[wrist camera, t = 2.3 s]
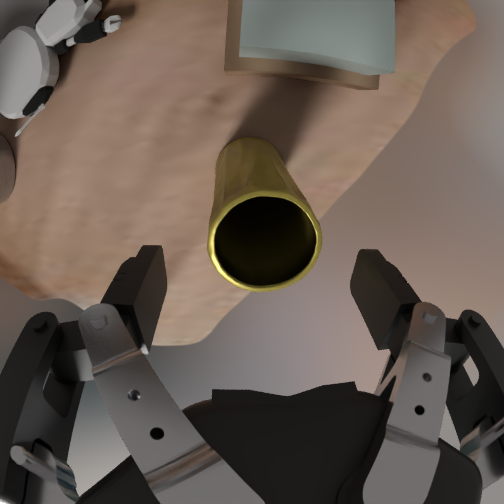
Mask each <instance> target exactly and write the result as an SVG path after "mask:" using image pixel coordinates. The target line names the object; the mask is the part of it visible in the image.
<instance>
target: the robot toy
mask: <svg viewBox="0 0 504 504" xmlns="http://www.w3.org/2000/svg"><path fill="white" fill-rule="evenodd" d="M101 9H102V2H101V1H100V0H49V7H48V9H47V10H46V12H45V13H43V14H40V16H39V17H38V19H37V21H36V22H35V23H36V29H34V28H31V27H28V26H19V27H17V28H16V29H14V30H12V31H10V33H8V34H7V35H6V36H5V37H4V38H3V39H2V40H1V41H0V113H1V114H3V115H4V116H5V117H7V118H11V119H17V118H23V117H26V116H31V117H30V118H29V119H28V121H27V122H26V123H25V124H24V125H23V126H22V127H21V128H20V129H19V130H18V131H17V132H16V135H15V137H16V136H18V135H19V134H20V133H21V132H22V130H23V129H24V128H25V127H26V125H27V124H28V123H29V122H30V121H31V120H32V119H33V118H34V117H35V116H36V115H37V114H38V113H39V111H42V110H43V109H44V108H45V107H46V106H45V103H46V102H47V101H48V100H49V97H50V96H51V94H52V92H53V90H54V88H53V87H54V86H55V84H56V82H57V79H58V76H59V60H58V56H57V55H61V54H63V53H65V52H67V51H69V50H70V46H72V45H74V44H76V43H91V42H93V41H96V40H98V39H100V38H103V37H105V36H107V32H114V31H116V30H117V29H119V28H120V27H121V25H122V23H121V22H117V21H120V20H121V17H120V16H119V15H114V16H110V17H108V18H107V19H106V20H105V21H104V20H103V19H98V20H95V21H94V18H95V17H96V15H97V14H98V13H99V11H100V10H101ZM115 22H117V23H115ZM113 23H114V24H113Z"/></svg>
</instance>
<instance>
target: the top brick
mask: <svg viewBox="0 0 504 504" xmlns="http://www.w3.org/2000/svg"><path fill="white" fill-rule="evenodd" d="M239 57H252V58H267V59H279V60H288V61H296V62H304V63H310V64H317V65H323V66H328V67H333V68H338V69H343V70H348V71H352V72H356V73H361V74H365V75H368V76H369V75H378V74H390V73H394V67H395V1H394V0H243V3H242V17H241V32H240V48H239Z"/></svg>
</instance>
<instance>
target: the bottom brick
mask: <svg viewBox="0 0 504 504" xmlns="http://www.w3.org/2000/svg"><path fill="white" fill-rule="evenodd" d="M242 3H243V0H229V4H228V17H227V32H226V47H225V65H224V70H225V73H226V75H255V76H270V77H281V78H291V79H299V80H307V81H314V82H320V83H326V84H332V85H337V86H343V87H348V88H352V89H357V90H378V88H379V74H378V75H369V76H368V75H365V74H361V73H356V72H352V71H348V70H343V69H338V68H333V67H328V66H323V65H317V64H310V63H304V62H296V61H288V60H279V59H267V58H252V57H239V48H240V32H241V17H242Z"/></svg>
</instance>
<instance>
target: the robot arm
mask: <svg viewBox="0 0 504 504" xmlns="http://www.w3.org/2000/svg"><path fill="white" fill-rule="evenodd" d="M14 182H15V162H14V157H13V153H12V150H11V148H10V146H9V144H8V142H7V141H6V139H5V138H4V137H3V136H2V135H0V204H1V203H3V202H4V201H5V200H6V199H7V198H8V197H9V196H10V194H11V192H12V190H13V187H14ZM350 290H351V294H352V296H353V298H354V300H355V302H356V304H357V306H358V308H359V310H360V312H361V314H362V316H363V319H364V321H365V323H366V325H367V327H368V329H369V331H370V334H371V336H372V338H373V340H374V342H375V345H376V347H377V349H378V350H384V349H390V354H389V355H388V357H387V360H386V363H385V366H384V369H383V371H382V374H381V377H380V379H379V382H378V385H377V387H376V390H375V392H374V394H371V393H367V392H362V391H357V388H356V385H355V382H346V383H338V384H330V385H322V386H319V387H316V388H314V389H311V390H307V391H305V392H301V393H298V394H295V395H292V396H281V395H275V394H269V393H264V392H258V391H253V390H219V389H213V390H212V399H210V400H205V401H202V402H199V403H195V404H193V405H190V406H188V407H186V408H185V409H183V410H181V409H180V408H179V407H178V405H177V404H176V403H175V401H174V400H173V398H172V397H171V395H170V394H169V393H168V391H167V390H166V388H165V387H164V385H163V384H162V382H161V381H160V379H159V378H158V376H157V374H156V373H155V371H154V370H153V368H152V367H151V365H150V363H149V362H148V360H147V359H146V357H145V355H144V354H149V352H150V348H151V344H152V341H153V337H154V333H155V330H156V326H157V323H158V319H159V316H160V312H161V309H162V305H163V302H164V299H165V295H166V291H167V275H166V269H165V262H164V255H163V249H162V246H161V245H143V246H142V247H141V249H140V251H139V252H138V254H137V256H136V257H130V258H129V259H128V260H126V261H125V262H124V263H123V264H122V265H121V266H120V268H119V270H118V271H117V274H116V275H115V277H114V279H113V281H112V282H111V284H110V286H109V288H108V289H107V291H106V293H105V295H104V297H103V299H102V300H101V302H100V304H96V305H93V306H90V307H89V308H87V309H86V310H84V311H83V312H82V314H81V315H80V317H79V320H77V321H71V322H65V323H59V322H58V320H57V318H56V316H55V315H54V314H53V313H51V312H41V313H38V314H36V315H34V316H33V317H32V318H31V319H29V321H28V322H27V323H26V325H25V327H24V329H23V330H22V332H21V334H20V336H19V338H18V339H17V342H16V343H15V345H14V347H13V349H12V351H11V353H10V355H9V358H8V359H7V361H6V364H5V366H4V368H3V370H2V372H1V374H0V504H480V500H481V495H482V490H483V489H485V488H487V487H488V486H490V485H491V484H492V483H494V482H496V481H498V480H499V479H501V478H503V477H504V348H503V347H502V345H501V343H500V342H499V340H498V339H497V337H496V336H495V334H494V332H493V331H492V329H491V328H490V326H489V325H488V324H487V322H486V321H485V319H484V318H483V317H482V316H481V315H480V314H479V313H477V312H475V311H473V310H464V311H463V312H462V313H461V315H460V317H459V319H458V320H456V319H450V318H446V317H445V315H444V313H443V312H442V310H441V309H439V308H438V307H437V306H435V305H433V304H432V303H428V302H422V301H421V300H420V299H419V297H418V296H417V294H416V293H415V292H414V290H413V289H412V287H411V286H410V285H409V283H407V281H406V279H405V278H404V277H402V274H401V273H400V271H399V270H398V269H397V268H396V267H395V266H394V265H393V264H391V263H390V262H388V261H386V259H385V258H384V257H383V255H382V254H381V253H380V252H379V251H378V250H377V249H361V250H360V251H359V252H358V255H357V259H356V263H355V266H354V270H353V273H352V277H351V281H350ZM469 356H471V358H472V359H473V361H474V363H475V365H476V367H477V369H478V371H479V379H478V382H477V384H476V385H475V386H474V387H473V384H472V382H471V381H470V378H469V376H468V374H467V372H466V370H465V368H464V366H463V364H464V363H465V362H466V360H467V359H468V358H469ZM48 371H49V372H50V374H49V377H48V379H47V382H46V384H45V387H44V390H43V385H44V382H45V379H46V377H47V374H48ZM88 380H95V382H96V384H97V387H98V389H99V392H100V394H101V396H102V399H103V401H104V403H105V405H106V407H107V409H108V412H109V414H110V416H111V418H112V420H113V422H114V424H115V426H116V428H117V430H118V432H119V434H120V436H121V438H122V440H123V441H124V443H125V445H126V447H127V449H128V450H129V452H130V454H131V455H130V456H129V457H127V458H126V459H125V460H124V461H123V462H122V463H120V464H119V465H118V466H117V467H116V468H115V469H113V470H112V471H111V472H110V473H108V474H107V475H106V476H105V477H104V478H102V479H101V480H100V481H99V482H97V483H96V484H95V485H94V486H92V487H91V488H90V489H88V490H87V491H86V492H85V493H83V494H82V495H81V496H80V497H79V495H78V493H77V491H76V482H75V476H74V473H73V471H72V469H71V467H70V466H69V465H68V464H67V457H68V451H69V446H70V441H71V437H72V432H73V427H74V422H75V419H76V414H77V410H78V406H79V403H80V398H81V395H82V391H83V388H84V384H85V381H88ZM445 404H446V405H447V408H448V410H449V413H450V416H451V418H452V421H453V424H454V427H455V430H456V433H457V435H458V439H459V441H460V450H457V449H456V448H454V447H453V446H451V445H450V444H448V443H447V442H445V441H444V440H442V439H441V438H439V434H440V429H441V425H442V420H443V414H444V410H445Z"/></svg>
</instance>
